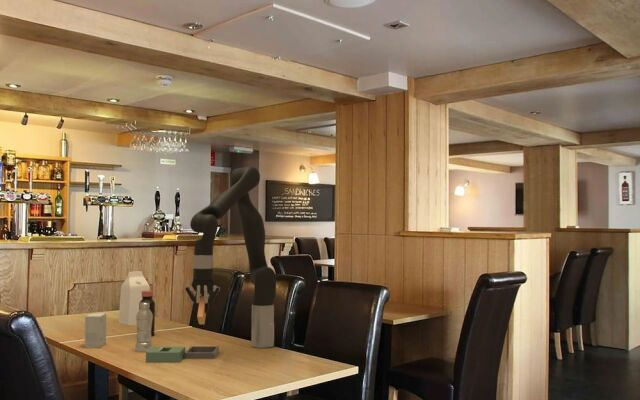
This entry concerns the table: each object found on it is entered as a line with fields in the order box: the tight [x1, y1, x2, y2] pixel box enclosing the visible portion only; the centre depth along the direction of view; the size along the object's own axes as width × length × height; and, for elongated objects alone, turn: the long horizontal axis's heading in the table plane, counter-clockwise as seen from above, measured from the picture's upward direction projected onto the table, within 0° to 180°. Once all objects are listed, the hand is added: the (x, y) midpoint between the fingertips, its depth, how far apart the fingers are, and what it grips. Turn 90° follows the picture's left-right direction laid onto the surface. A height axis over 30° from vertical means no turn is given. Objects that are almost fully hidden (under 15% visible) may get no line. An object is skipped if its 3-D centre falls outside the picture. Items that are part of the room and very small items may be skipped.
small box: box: [84, 312, 107, 349], centre depth 251 cm, size 8×6×13 cm
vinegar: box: [139, 290, 156, 337], centre depth 275 cm, size 7×7×20 cm
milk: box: [118, 270, 151, 326], centre depth 308 cm, size 12×12×26 cm
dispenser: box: [145, 345, 186, 364], centre depth 222 cm, size 12×10×5 cm
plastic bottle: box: [135, 302, 154, 353], centre depth 237 cm, size 6×7×20 cm
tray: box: [183, 345, 220, 360], centre depth 229 cm, size 11×12×4 cm
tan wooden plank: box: [196, 295, 207, 325], centre depth 229 cm, size 2×6×9 cm
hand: (202, 312), depth 230 cm, fingers closed on tan wooden plank, 1 cm apart
